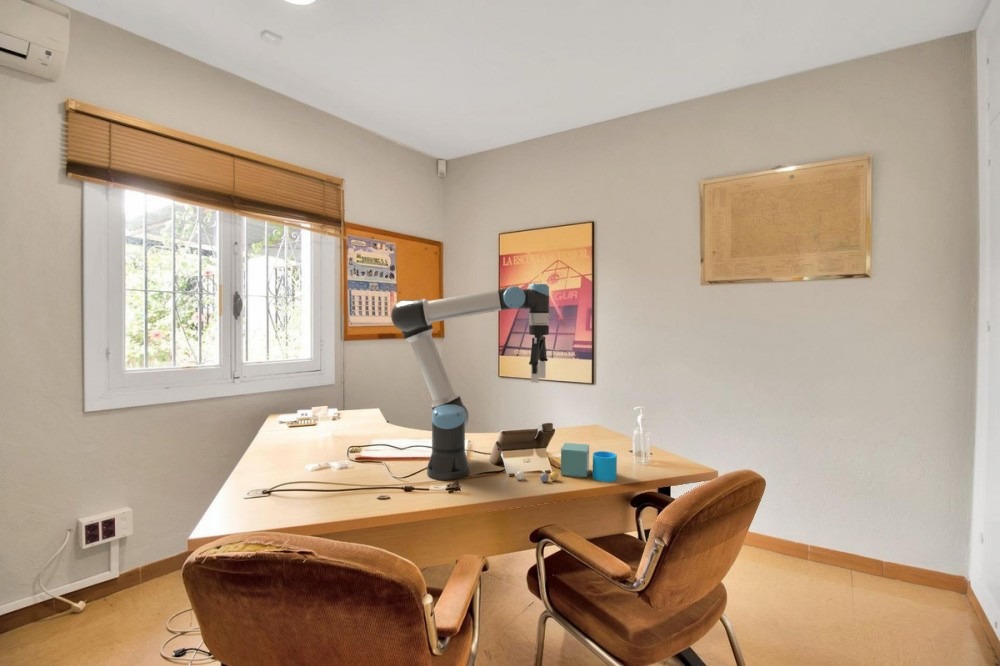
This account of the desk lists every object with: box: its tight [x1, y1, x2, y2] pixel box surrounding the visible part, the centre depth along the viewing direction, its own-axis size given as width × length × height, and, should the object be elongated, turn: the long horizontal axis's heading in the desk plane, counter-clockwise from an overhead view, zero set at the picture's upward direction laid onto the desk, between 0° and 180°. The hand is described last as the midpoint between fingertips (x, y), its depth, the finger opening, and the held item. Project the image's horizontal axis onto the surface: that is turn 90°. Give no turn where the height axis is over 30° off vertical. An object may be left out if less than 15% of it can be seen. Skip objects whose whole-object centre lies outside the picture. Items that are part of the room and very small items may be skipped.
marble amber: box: [548, 471, 559, 482], centre depth 159 cm, size 3×3×3 cm
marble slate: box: [539, 472, 550, 483], centre depth 158 cm, size 3×3×3 cm
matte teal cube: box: [560, 442, 590, 478], centre depth 167 cm, size 9×9×9 cm
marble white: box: [515, 470, 525, 481], centre depth 160 cm, size 3×3×3 cm
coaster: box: [564, 470, 591, 479], centre depth 167 cm, size 10×10×1 cm
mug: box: [592, 450, 618, 483], centre depth 164 cm, size 12×8×8 cm
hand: (538, 380), depth 179 cm, fingers open, 13 cm apart
